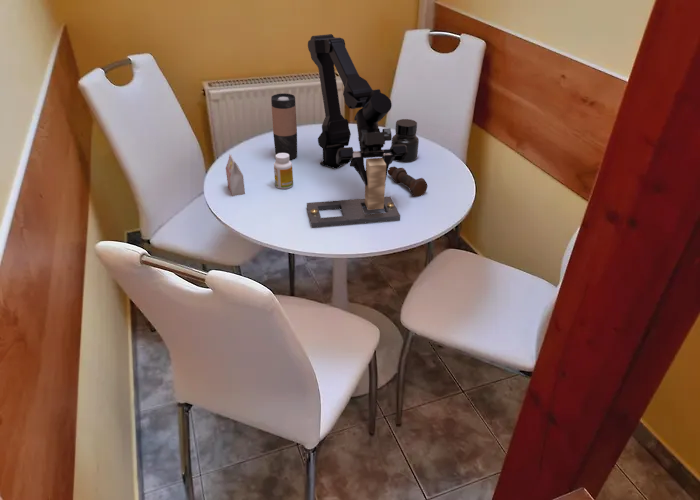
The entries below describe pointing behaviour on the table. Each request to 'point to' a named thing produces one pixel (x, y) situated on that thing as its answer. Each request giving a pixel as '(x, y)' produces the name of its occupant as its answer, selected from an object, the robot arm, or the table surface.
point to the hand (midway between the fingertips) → (375, 184)
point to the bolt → (408, 181)
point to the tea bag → (234, 178)
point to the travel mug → (284, 124)
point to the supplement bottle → (283, 171)
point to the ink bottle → (407, 138)
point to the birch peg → (375, 183)
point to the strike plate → (350, 213)
